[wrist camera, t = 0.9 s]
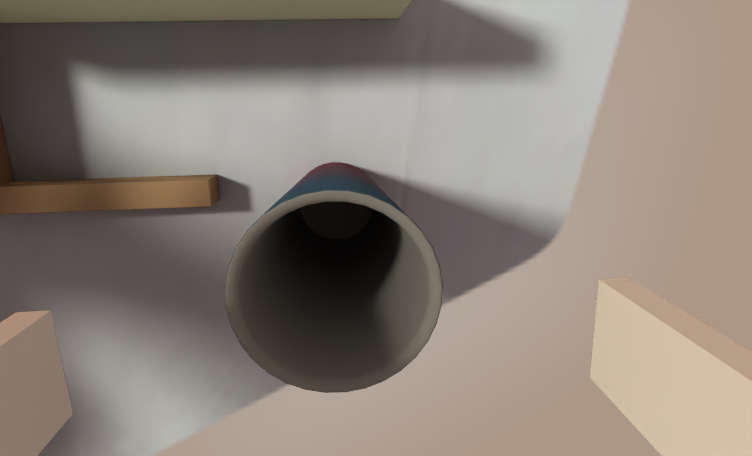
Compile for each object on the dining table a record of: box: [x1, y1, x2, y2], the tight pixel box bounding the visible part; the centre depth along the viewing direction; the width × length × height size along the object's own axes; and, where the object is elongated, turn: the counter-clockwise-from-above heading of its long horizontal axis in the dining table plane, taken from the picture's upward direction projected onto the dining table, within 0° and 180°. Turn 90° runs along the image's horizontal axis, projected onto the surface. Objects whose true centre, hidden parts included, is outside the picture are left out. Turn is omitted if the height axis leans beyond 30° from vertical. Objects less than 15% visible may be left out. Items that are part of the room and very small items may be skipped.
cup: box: [225, 162, 443, 393], centre depth 22 cm, size 7×7×15 cm
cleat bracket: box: [0, 118, 220, 214], centre depth 25 cm, size 13×10×5 cm
